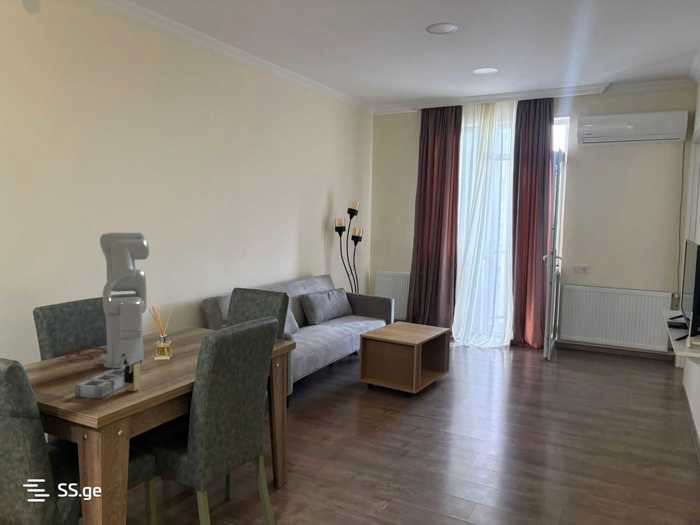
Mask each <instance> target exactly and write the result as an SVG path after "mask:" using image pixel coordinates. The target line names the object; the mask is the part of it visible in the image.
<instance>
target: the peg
mask: <svg viewBox="0 0 700 525" xmlns="http://www.w3.org/2000/svg"><path fill="white" fill-rule="evenodd" d="M127 364H128V363H127ZM127 367H128V368H129V366H127ZM132 373H133V383H125V387H124V391H130V392H135V391H137V390H139V389H140V388H141V368H140V362H136V363H134V364H132Z"/></svg>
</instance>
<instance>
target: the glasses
mask: <svg viewBox="0 0 700 525" xmlns="http://www.w3.org/2000/svg"><path fill="white" fill-rule="evenodd" d="M80 346H81V349H80V350H79V348H80ZM84 348H88V349H93V350H101V351H103V352H104V353H107V349H104V348H102V347H92V346H88V345H85V344H84V343H79V344H78V346H77V347H70V348H68V350H67V352H66V357H67V356H69V354H70V355H72V356H73V355H76V356H81V357H82V356H88V357H89V358H90V359H92V358H94V357H93V356H91V354H88V353H83V354H82V351H83V349H84ZM75 350H76V352H74V351H75ZM80 352H81V353H80Z"/></svg>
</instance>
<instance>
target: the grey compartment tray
mask: <svg viewBox="0 0 700 525" xmlns="http://www.w3.org/2000/svg"><path fill="white" fill-rule="evenodd" d="M121 388H122V389H123V388H124V389H125V382H124V373H123V370H122V369H120V368H110V369H109V370H107V371H105V372H103V373H100V374H99V375H95V376H93V377H91V378H89V379H86V380H85V381H82V382H79V383H78V384H75V385H74V397H77V398H76V399H86V398H89V400H98V399H100V400H102V399H104V398H105V396H106V397H108V396H110V395H112V394H114V393H116V392H118V391H120V390H122V389H121ZM119 389H120V390H119ZM117 390H118V391H117ZM115 391H116V392H115ZM113 392H114V393H113ZM111 393H112V394H111ZM109 394H110V395H109ZM107 395H108V396H107ZM103 397H104V398H103ZM101 398H102V399H101Z"/></svg>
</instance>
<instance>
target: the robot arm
mask: <svg viewBox="0 0 700 525" xmlns="http://www.w3.org/2000/svg"><path fill="white" fill-rule="evenodd" d="M99 245H100V248H101V250H102V251H101V252H102V253H103V255H104V258H105V263H106V264H105V265H106V283H105V285H104V287H103V290H102V306H103V308H102V309H103V312H104V315H105V325H106V326H105V327H106V351H107V352H106V353H107V354H103V353H102V354H101V355H100V357H99V359H100V361H105V362H103V367H104V368H107V369H122V370H123V373H124V382H125V383H133V373H132V364H134V363H136V362H140V369H141V368H142V363H143V361H144V360H145V357H144V356H145V355H144V354H145V350H144V339H143V314H145V313H146V310H147V279H146V278H147V277H146V273H145V272H144V271H143V269H136V263H135V262H136V261H135V260H138V261H140V260H147V258H148V257H149V255H150V246H149V243H148V241H147V239H146V237H145V235H144V234H143V233H140V232H107V233H104V234H102V235H101V236H100V238H99ZM111 292H114V293H115V292H116V293H117V292H119V294H118V293H117V294H111ZM121 292H134V293H121ZM127 363H128V364H127ZM127 366H129V368H128V367H127Z"/></svg>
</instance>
